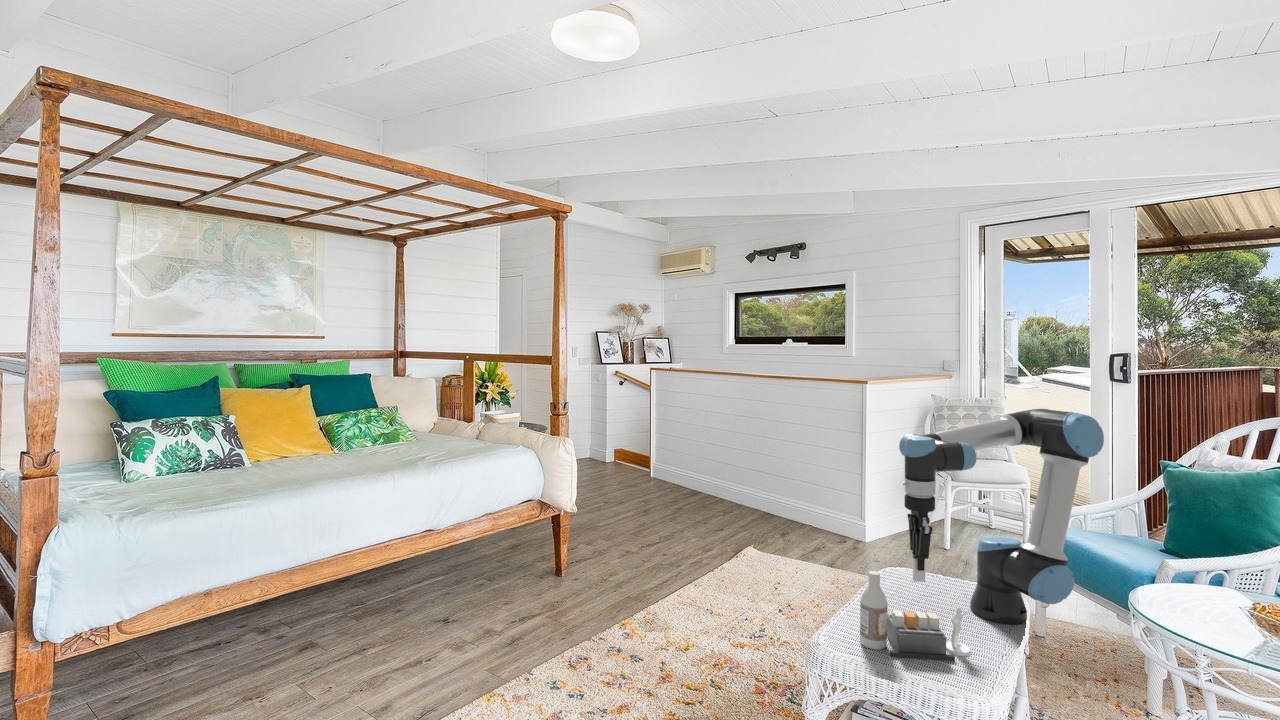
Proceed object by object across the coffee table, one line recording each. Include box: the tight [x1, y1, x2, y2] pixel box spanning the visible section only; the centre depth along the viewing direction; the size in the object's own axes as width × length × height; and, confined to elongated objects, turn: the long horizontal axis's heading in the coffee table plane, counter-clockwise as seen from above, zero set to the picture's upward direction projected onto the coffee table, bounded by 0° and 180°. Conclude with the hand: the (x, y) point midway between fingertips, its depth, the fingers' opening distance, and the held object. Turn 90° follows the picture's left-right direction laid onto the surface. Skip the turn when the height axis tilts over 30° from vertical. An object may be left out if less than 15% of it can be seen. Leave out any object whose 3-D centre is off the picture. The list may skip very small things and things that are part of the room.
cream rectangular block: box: [925, 612, 940, 630], centre depth 166 cm, size 2×4×3 cm, turn 172°
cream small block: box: [891, 610, 904, 627], centre depth 167 cm, size 2×4×3 cm, turn 172°
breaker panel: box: [887, 613, 947, 655], centre depth 167 cm, size 12×12×7 cm
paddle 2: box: [903, 610, 916, 628], centre depth 167 cm, size 2×4×3 cm, turn 172°
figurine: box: [946, 606, 973, 657], centre depth 165 cm, size 7×7×12 cm
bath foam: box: [859, 570, 888, 650], centre depth 168 cm, size 7×7×20 cm
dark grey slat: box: [889, 649, 956, 662], centre depth 161 cm, size 16×1×1 cm, turn 82°
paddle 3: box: [914, 611, 928, 629], centre depth 167 cm, size 2×4×3 cm, turn 172°
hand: (919, 580), depth 165 cm, fingers closed
